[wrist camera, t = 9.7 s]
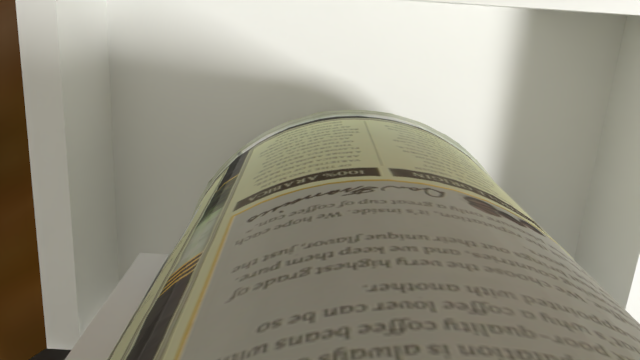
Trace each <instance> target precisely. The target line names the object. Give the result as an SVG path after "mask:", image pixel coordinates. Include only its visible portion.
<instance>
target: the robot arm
mask: <svg viewBox="0 0 640 360" xmlns="http://www.w3.org/2000/svg"><path fill="white" fill-rule="evenodd" d="M168 258H169V254H153V253H140V254H139V255H138V256H137V258H136V259H135V261H134V262H133V264H132V265H131V266H130V268H129V269H128V271H127V272H126V273H125V275H124V276H123V278H122V279H121V281H120V282H119V283H118V285H117V286H116V288H115V289H114V290H113V292H112V293H111V295H110V296H109V297H108V299H107V300H106V302H105V303H104V305H103V306H102V307H101V309H100V310H99V312H98V313H97V314H96V316H95V317H94V319H93V320H92V322H91V323H90V324H89V326H88V327H87V329H86V330H85V331H84V333H83V334H82V336H81V337H80V338H79V340H78V341H77V343H76V344H75V346H74V347H73V348H72V350H64V349H44V350H43V351H41V352H40V353H38V354H37V355H35V356H34V357H32V358H31V359H29V360H109V359H110V358H111V356H112V355H113V353H114V351H115V349H116V348H117V346H118V344H119V343H120V341H121V339H122V337H123V336H124V334H125V332H126V331H127V329H128V327H129V326H130V324H131V322H132V320H133V319H134V317H135V315H136V313H137V312H138V310H139V308H140V307H141V305H142V303H143V301H144V300H145V298H146V296H147V295H148V293H149V291H150V289H151V288H152V286H153V284H154V283H155V281H156V279H157V277H158V276H159V274H160V272H161V271H162V269H163V267H164V265H165V264H166V262H167V260H168Z"/></svg>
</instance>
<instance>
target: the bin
mask: <svg viewBox="0 0 640 360" xmlns="http://www.w3.org/2000/svg"><path fill="white" fill-rule="evenodd" d="M15 2H16V13H17V24H18V35H19V46H20V57H21V68H22V79H23V90H24V101H25V112H26V123H27V134H28V145H29V156H30V167H31V178H32V189H33V200H34V211H35V222H36V233H37V244H38V255H39V266H40V277H41V288H42V299H43V310H44V321H45V332H46V343H47V349H64V350H72V348H73V347H74V346H75V344H76V343H77V341H78V340H79V338H80V337H81V336H82V334H83V333H84V331H85V330H86V329H87V327H88V326H89V324H90V323H91V322H92V320H93V319H94V317H95V316H96V314H97V313H98V312H99V310H100V309H101V307H102V306H103V305H104V303H105V302H106V300H107V299H108V297H109V296H110V295H111V293H112V292H113V290H114V289H115V288H116V286H117V285H118V283H119V282H120V281H121V279H122V278H123V276H124V275H125V273H126V272H127V271H128V269H129V268H130V266H131V265H132V264H133V262H134V261H135V259H136V258H137V256H138V255H139V254H140V253H153V254H169V256H170V255H171V253H172V251H173V250H174V248H175V246H176V244H177V243H178V241H179V239H180V238H181V236H182V234H183V233H184V231H185V229H186V227H187V226H188V224H189V222H190V220H191V218H192V215H193V213H194V210H195V208H196V205H197V203H198V201H199V199H200V197H201V195H202V194H203V192H204V190H205V189H206V187H207V184H208V182H209V181H210V180H211V179H212V178H213V177H214V175H215V174H216V173H217V171H218V170H219V169H220V168H221V167H222V165H223V164H224V163H225V162H226V161H227V160H228V159H229V158H231V157H232V156H233V155H234V154H235V153H236V152H237V151H238V150H240V149H241V148H242V147H243V146H245V145H246V144H247V143H249V142H250V141H252V140H253V139H255V138H256V137H258V136H259V135H261V134H263V133H264V132H266V131H268V130H270V129H273V128H275V127H277V126H279V125H281V124H283V123H286V122H288V121H291V120H295V119H298V118H302V117H305V116H308V115H311V114H314V113H318V112H325V111H341V110H368V111H377V112H386V113H392V114H395V115H399V116H402V117H406V118H409V119H412V120H415V121H418V122H421V123H423V124H425V125H428V126H430V127H431V128H433V129H435V130H437V131H439V132H441V133H443V134H445V135H447V136H448V137H450V138H451V139H453V140H454V141H456V142H457V143H459V144H460V145H461V146H462V147H463V148H465V149H466V150H467V151H468V152H469V153H470V154H471V155H472V156H473V157H474V158H475V159H476V160H477V161H478V162H479V163H480V164H481V165H482V166H483V168H484V169H485V170H486V171H487V172H488V174H489V175H490V176H491V177H492V179H493V180H494V182H495V183H496V184H497V185H498V186H499V187H500V188H501V189H502V190H503V191H504V192H505V193H506V194H507V195H508V196H510V197H511V198H512V199H513V200H514V201H515V202H516V203H517V204H518V205H519V206H520V207H521V208H522V209H523V210H524V211H525V212H526V213H527V214H528V215H529V216H530V217H531V218H532V219H533V220H534V221H535V222H536V223H537V224H538V225H539V226H540V227H541V228H542V229H543V230H544V231H545V232H546V233H547V234H548V235H549V236H550V237H551V238H552V239H554V240H555V241H556V242H557V243H558V244H559V245H560V246H561V247H562V248H563V249H564V250H565V251H566V252H567V253H568V254H569V255H570V256H571V257H572V258H573V259H574V260H575V262H576V263H577V264H578V265H579V266H581V267H582V268H583V269H584V270H585V271H586V272H587V273H588V274H589V275H590V276H591V277H592V278H593V279H594V280H595V281H596V282H597V283H598V284H599V285H600V286H601V287H602V288H603V289H604V290H605V291H606V292H607V293H609V294H610V295H611V296H612V297H613V298H614V299H615V300H616V301H617V302H618V303H619V304H620V305H621V306H622V307H623V308H624V309H625V310H626V311H627V312H628V313H629V314H630V315H631V316H632V317H633V318H634V319H635V320H636V321H637V322H638V323H639V324H640V0H15Z"/></svg>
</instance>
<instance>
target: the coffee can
mask: <svg viewBox="0 0 640 360" xmlns="http://www.w3.org/2000/svg"><path fill="white" fill-rule="evenodd" d="M109 360H640V324H639V323H638V322H637V321H636V320H635V319H634V318H633V317H632V316H631V315H630V314H629V313H628V312H627V311H626V310H625V309H624V308H623V307H622V306H621V305H620V304H619V303H618V302H617V301H616V300H615V299H614V298H613V297H612V296H611V295H610V294H609V293H607V292H606V291H605V290H604V289H603V288H602V287H601V286H600V285H599V284H598V283H597V282H596V281H595V280H594V279H593V278H592V277H591V276H590V275H589V274H588V273H587V272H586V271H585V270H584V269H583V268H582V267H581V266H579V265H578V264H577V263H576V262H575V260H574V259H573V258H572V257H571V256H570V255H569V254H568V253H567V252H566V251H565V250H564V249H563V248H562V247H561V246H560V245H559V244H558V243H557V242H556V241H555V240H554V239H552V238H551V237H550V236H549V235H548V234H547V233H546V232H545V231H544V230H543V229H542V228H541V227H540V226H539V225H538V224H537V223H536V222H535V221H534V220H533V219H532V218H531V217H530V216H529V215H528V214H527V213H526V212H525V211H524V210H523V209H522V208H521V207H520V206H519V205H518V204H517V203H516V202H515V201H514V200H513V199H512V198H511V197H510V196H508V195H507V194H506V193H505V192H504V191H503V190H502V189H501V188H500V187H499V186H498V185H497V184H496V183H495V182H494V180H493V179H492V177H491V176H490V175H489V174H488V172H487V171H486V170H485V169H484V168H483V166H482V165H481V164H480V163H479V162H478V161H477V160H476V159H475V158H474V157H473V156H472V155H471V154H470V153H469V152H468V151H467V150H466V149H465V148H463V147H462V146H461V145H460V144H459V143H457V142H456V141H454V140H453V139H451V138H450V137H448V136H447V135H445V134H443V133H441V132H439V131H437V130H435V129H433V128H431V127H430V126H428V125H425V124H423V123H421V122H418V121H415V120H412V119H409V118H406V117H402V116H399V115H395V114H392V113H386V112H377V111H368V110H341V111H325V112H318V113H314V114H311V115H308V116H305V117H302V118H298V119H295V120H291V121H288V122H286V123H283V124H281V125H279V126H277V127H275V128H273V129H270V130H268V131H266V132H264V133H263V134H261V135H259V136H258V137H256V138H255V139H253V140H252V141H250V142H249V143H247V144H246V145H245V146H243V147H242V148H241V149H240V150H238V151H237V152H236V153H235V154H234V155H233V156H232V157H231V158H229V159H228V160H227V161H226V162H225V163H224V164H223V165H222V167H221V168H220V169H219V170H218V171H217V173H216V174H215V175H214V177H213V178H212V179H211V180H210V181H209V182H208V184H207V187H206V189H205V190H204V192H203V194H202V195H201V197H200V199H199V201H198V203H197V205H196V208H195V210H194V213H193V215H192V218H191V220H190V222H189V224H188V226H187V227H186V229H185V231H184V233H183V234H182V236H181V238H180V239H179V241H178V243H177V244H176V246H175V248H174V250H173V251H172V253H171V255H170V256H169V258H168V260H167V262H166V264H165V265H164V267H163V269H162V271H161V272H160V274H159V276H158V277H157V279H156V281H155V283H154V284H153V286H152V288H151V289H150V291H149V293H148V295H147V296H146V298H145V300H144V301H143V303H142V305H141V307H140V308H139V310H138V312H137V313H136V315H135V317H134V319H133V320H132V322H131V324H130V326H129V327H128V329H127V331H126V332H125V334H124V336H123V337H122V339H121V341H120V343H119V344H118V346H117V348H116V349H115V351H114V353H113V355H112V356H111V358H110V359H109Z"/></svg>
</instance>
